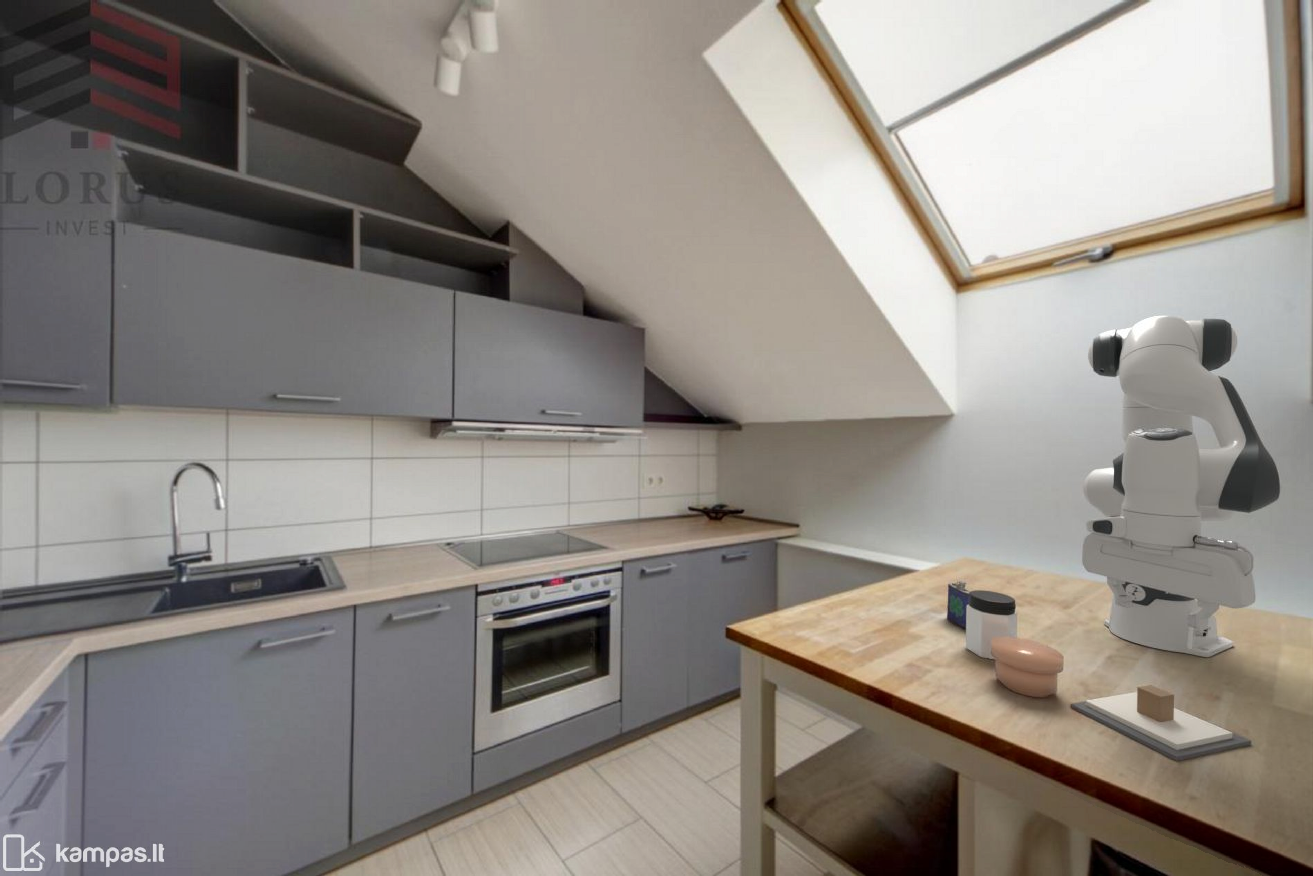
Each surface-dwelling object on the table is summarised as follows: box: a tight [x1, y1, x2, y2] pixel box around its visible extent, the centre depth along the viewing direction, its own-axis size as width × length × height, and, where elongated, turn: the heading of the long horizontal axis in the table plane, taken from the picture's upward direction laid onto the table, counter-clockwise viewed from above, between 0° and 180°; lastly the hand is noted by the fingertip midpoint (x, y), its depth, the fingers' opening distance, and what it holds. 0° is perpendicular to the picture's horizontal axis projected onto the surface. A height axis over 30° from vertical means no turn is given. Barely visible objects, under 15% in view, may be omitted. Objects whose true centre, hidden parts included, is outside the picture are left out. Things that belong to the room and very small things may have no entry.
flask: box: [946, 580, 972, 631], centre depth 119 cm, size 9×3×11 cm, turn 2°
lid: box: [1085, 684, 1234, 750], centre depth 78 cm, size 12×12×5 cm
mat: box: [1069, 700, 1252, 762], centre depth 78 cm, size 16×14×1 cm
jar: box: [965, 589, 1018, 661], centre depth 103 cm, size 9×8×12 cm
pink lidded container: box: [991, 637, 1065, 698], centre depth 89 cm, size 11×11×7 cm
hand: (1158, 616), depth 78 cm, fingers open, 8 cm apart
